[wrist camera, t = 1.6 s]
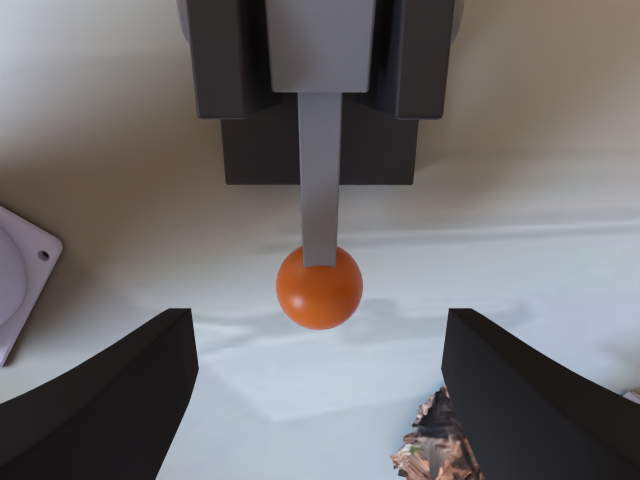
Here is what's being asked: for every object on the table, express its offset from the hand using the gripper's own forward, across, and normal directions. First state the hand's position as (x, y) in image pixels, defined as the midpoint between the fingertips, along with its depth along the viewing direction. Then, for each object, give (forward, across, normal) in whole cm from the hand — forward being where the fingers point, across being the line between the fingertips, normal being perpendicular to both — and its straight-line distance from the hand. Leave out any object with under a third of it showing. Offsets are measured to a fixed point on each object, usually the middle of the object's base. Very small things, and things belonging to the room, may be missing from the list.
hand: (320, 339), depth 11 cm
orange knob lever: (+4, 0, -4) cm, 6 cm away
